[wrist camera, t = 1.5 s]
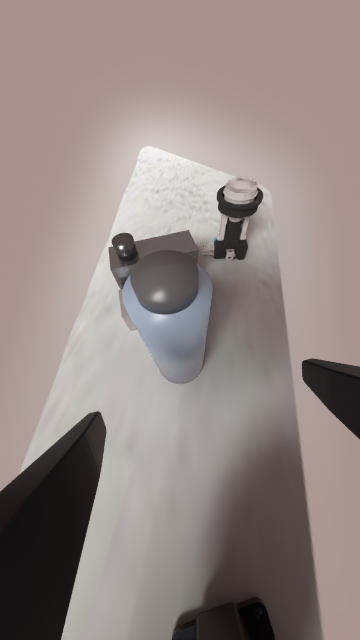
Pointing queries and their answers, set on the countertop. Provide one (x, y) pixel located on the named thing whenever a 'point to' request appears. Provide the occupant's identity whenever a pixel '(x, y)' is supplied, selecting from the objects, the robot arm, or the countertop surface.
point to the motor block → (131, 252)
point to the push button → (235, 217)
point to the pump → (170, 311)
